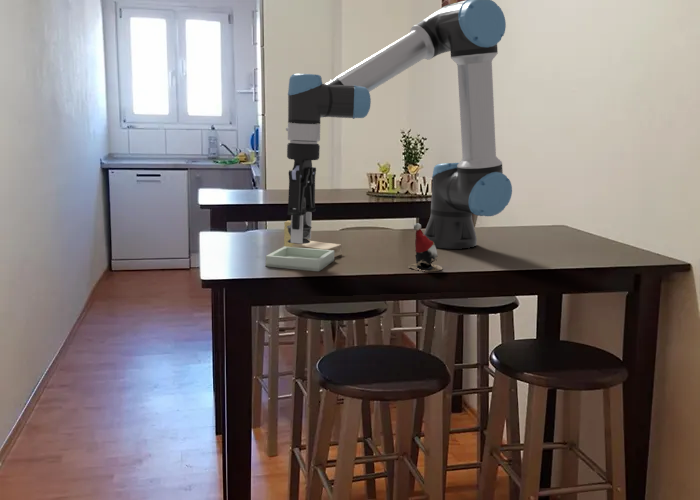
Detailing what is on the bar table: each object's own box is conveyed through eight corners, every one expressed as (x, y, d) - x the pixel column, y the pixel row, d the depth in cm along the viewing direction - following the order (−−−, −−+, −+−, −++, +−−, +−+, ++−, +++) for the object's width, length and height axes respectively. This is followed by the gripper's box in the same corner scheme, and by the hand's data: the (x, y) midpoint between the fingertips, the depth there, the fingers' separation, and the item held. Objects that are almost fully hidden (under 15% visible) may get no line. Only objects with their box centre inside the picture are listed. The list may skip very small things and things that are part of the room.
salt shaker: (286, 239, 171) (287, 189, 169) (310, 239, 172) (312, 190, 170) (286, 243, 166) (287, 192, 163) (311, 244, 166) (313, 193, 164)
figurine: (459, 253, 169) (431, 224, 163) (438, 287, 167) (409, 259, 161) (436, 247, 176) (408, 219, 170) (416, 280, 174) (387, 253, 167)
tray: (334, 260, 174) (334, 250, 174) (319, 271, 162) (319, 260, 161) (284, 256, 177) (284, 246, 177) (265, 266, 165) (265, 255, 165)
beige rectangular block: (341, 256, 182) (341, 244, 182) (326, 261, 175) (327, 249, 175) (307, 251, 186) (307, 240, 186) (291, 256, 179) (292, 244, 179)
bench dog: (298, 251, 184) (299, 221, 182) (295, 253, 181) (295, 222, 179) (287, 250, 184) (288, 220, 183) (283, 252, 182) (284, 221, 180)
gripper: (300, 140, 174) (298, 233, 178) (274, 142, 156) (272, 245, 160) (330, 142, 172) (327, 235, 177) (306, 144, 154) (303, 248, 159)
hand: (301, 240), depth 169 cm, fingers closed on salt shaker, 6 cm apart
